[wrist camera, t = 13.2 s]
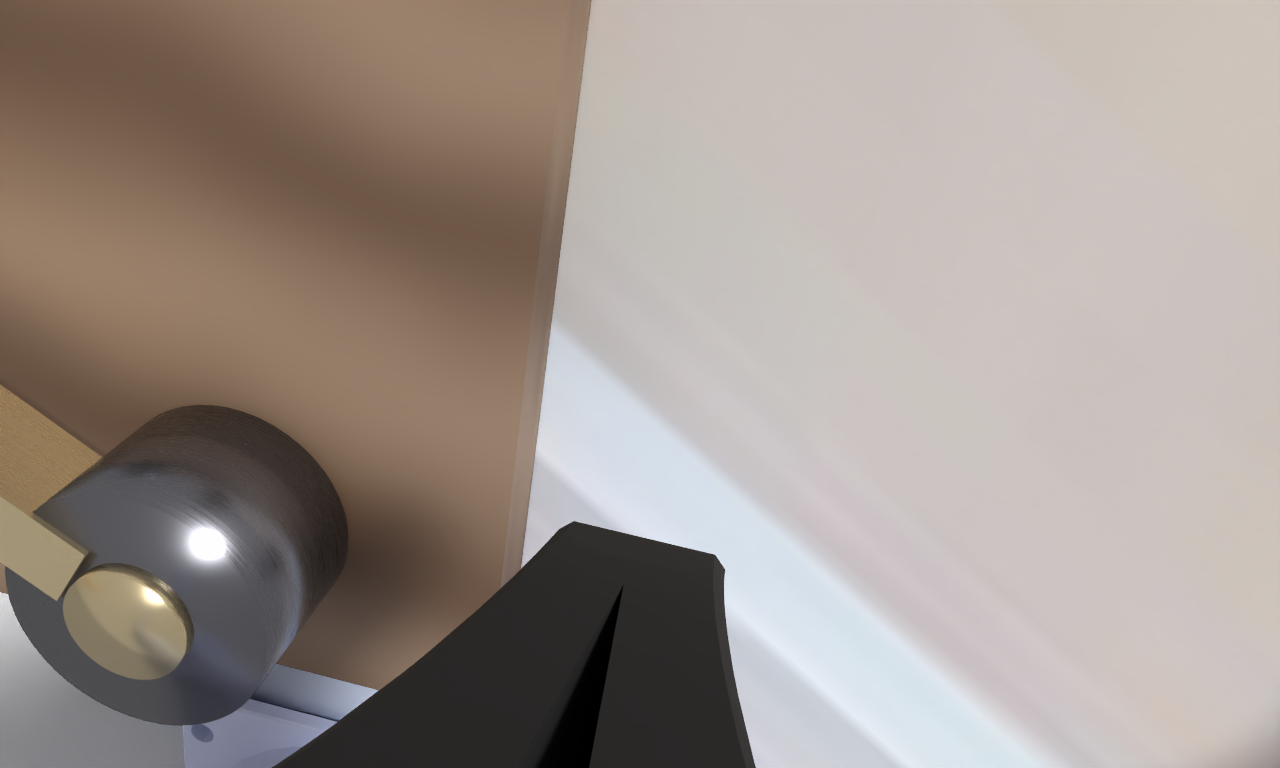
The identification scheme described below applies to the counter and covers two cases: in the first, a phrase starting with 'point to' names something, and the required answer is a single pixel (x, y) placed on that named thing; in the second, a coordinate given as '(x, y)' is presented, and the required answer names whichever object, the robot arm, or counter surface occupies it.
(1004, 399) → the counter surface
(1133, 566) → the counter surface
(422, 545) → the brown knob panel
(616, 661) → the robot arm
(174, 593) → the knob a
